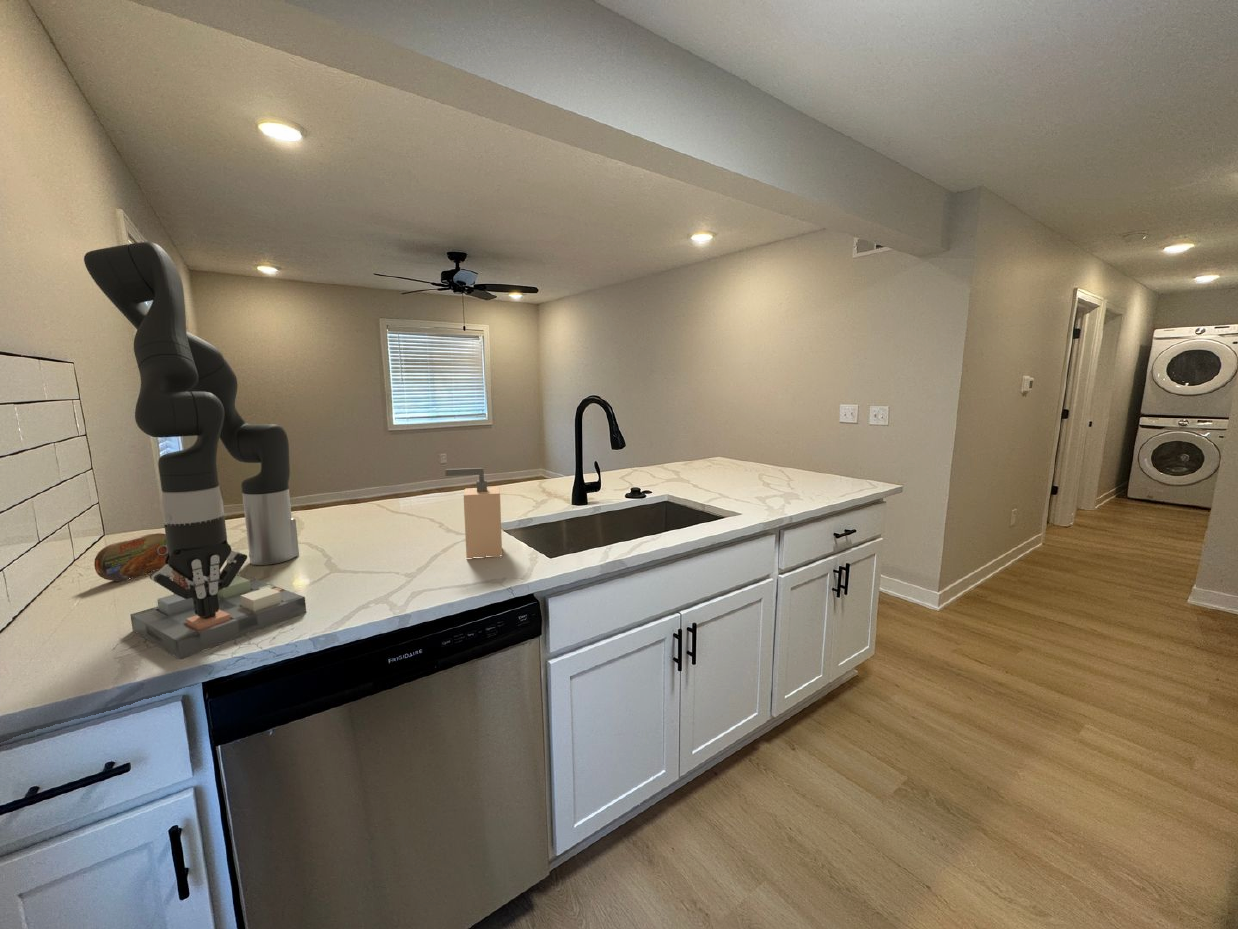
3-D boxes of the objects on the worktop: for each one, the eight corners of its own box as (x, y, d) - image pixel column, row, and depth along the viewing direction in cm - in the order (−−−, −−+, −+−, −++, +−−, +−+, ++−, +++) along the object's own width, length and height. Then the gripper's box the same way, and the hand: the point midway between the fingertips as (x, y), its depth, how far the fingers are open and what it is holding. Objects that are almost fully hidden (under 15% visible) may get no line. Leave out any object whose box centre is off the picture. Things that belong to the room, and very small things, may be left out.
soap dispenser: (501, 546, 133) (498, 465, 130) (502, 556, 125) (499, 470, 122) (450, 550, 130) (446, 466, 126) (448, 561, 122) (444, 472, 118)
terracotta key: (219, 622, 87) (217, 608, 86) (231, 628, 85) (229, 614, 84) (187, 633, 83) (185, 618, 83) (200, 639, 81) (198, 624, 80)
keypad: (255, 592, 103) (253, 577, 102) (306, 612, 94) (304, 596, 93) (132, 630, 86) (130, 613, 86) (179, 659, 77) (177, 639, 77)
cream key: (268, 599, 93) (267, 587, 93) (281, 604, 91) (280, 591, 91) (242, 608, 90) (240, 595, 89) (254, 614, 88) (253, 600, 87)
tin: (105, 587, 106) (99, 548, 104) (94, 586, 106) (88, 547, 105) (180, 563, 120) (175, 529, 119) (170, 562, 121) (165, 528, 120)
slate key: (189, 603, 92) (188, 590, 92) (200, 608, 90) (199, 595, 89) (159, 612, 88) (157, 599, 88) (169, 618, 86) (168, 604, 86)
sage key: (239, 588, 99) (238, 576, 98) (251, 592, 97) (249, 580, 96) (213, 596, 95) (211, 583, 95) (224, 601, 93) (222, 588, 92)
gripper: (230, 505, 88) (241, 598, 91) (131, 522, 77) (146, 627, 79) (252, 510, 85) (263, 606, 87) (151, 528, 73) (166, 639, 76)
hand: (207, 616), depth 83 cm, fingers closed
